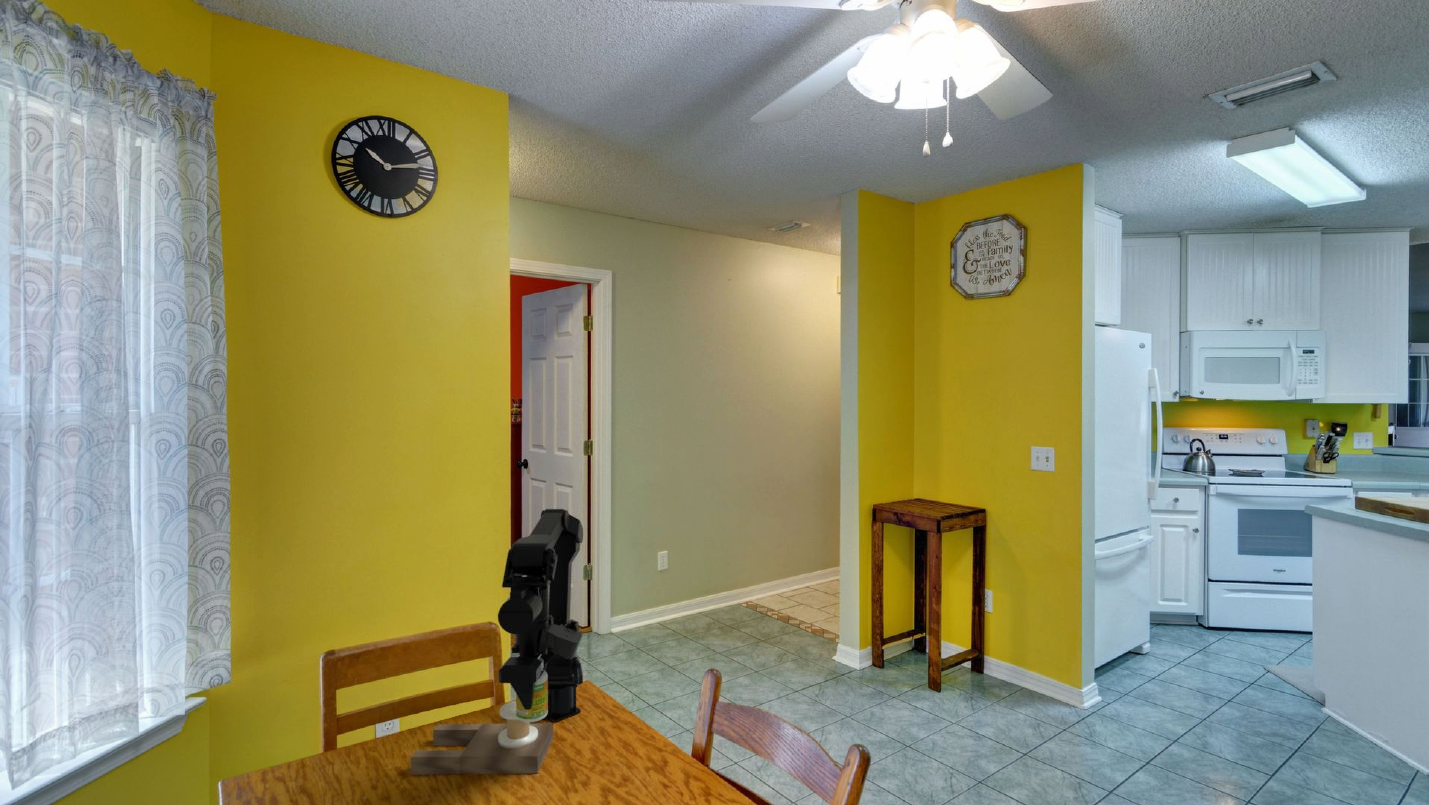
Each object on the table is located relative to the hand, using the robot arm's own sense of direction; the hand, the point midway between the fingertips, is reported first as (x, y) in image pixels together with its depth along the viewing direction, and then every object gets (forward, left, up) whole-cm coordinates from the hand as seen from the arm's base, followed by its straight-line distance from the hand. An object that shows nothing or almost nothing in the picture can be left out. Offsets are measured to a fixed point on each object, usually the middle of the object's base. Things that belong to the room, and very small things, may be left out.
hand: (532, 701), depth 120 cm
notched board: (+4, -10, -12) cm, 16 cm away
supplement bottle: (0, 0, -3) cm, 3 cm away
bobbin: (-1, -6, -9) cm, 11 cm away
